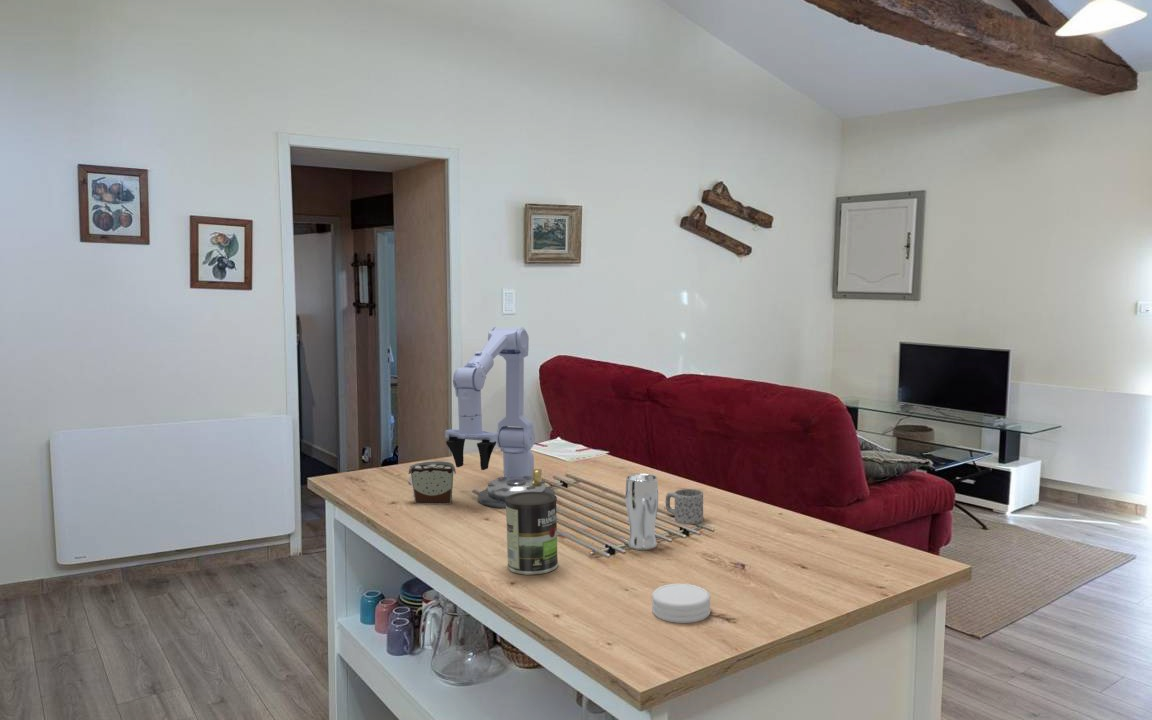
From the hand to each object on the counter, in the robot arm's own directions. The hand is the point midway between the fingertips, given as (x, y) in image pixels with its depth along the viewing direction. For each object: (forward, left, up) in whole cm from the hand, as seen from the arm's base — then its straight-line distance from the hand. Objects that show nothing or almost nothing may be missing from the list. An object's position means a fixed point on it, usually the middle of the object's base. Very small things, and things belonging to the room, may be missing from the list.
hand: (472, 467), depth 212 cm
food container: (-2, -12, -10) cm, 16 cm away
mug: (-7, +53, -10) cm, 54 cm away
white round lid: (+46, +67, -11) cm, 82 cm away
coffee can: (+34, +33, -10) cm, 49 cm away
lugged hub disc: (-11, +7, -9) cm, 15 cm away
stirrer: (-11, -23, -11) cm, 28 cm away
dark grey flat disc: (-11, +7, -10) cm, 16 cm away
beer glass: (+15, +50, -10) cm, 53 cm away
